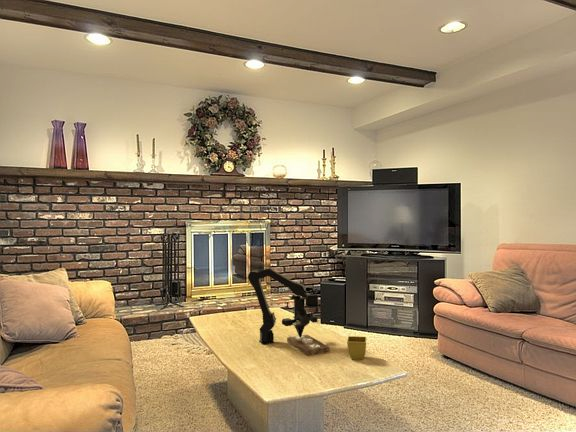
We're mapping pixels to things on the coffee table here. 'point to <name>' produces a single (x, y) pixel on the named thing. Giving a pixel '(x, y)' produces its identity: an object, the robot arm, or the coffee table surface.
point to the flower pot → (356, 347)
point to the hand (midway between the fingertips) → (300, 336)
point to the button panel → (308, 345)
